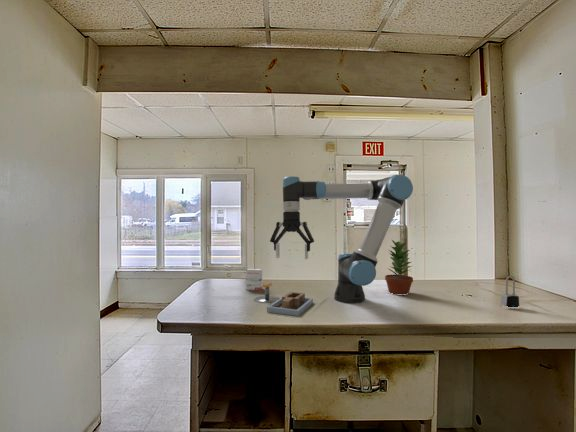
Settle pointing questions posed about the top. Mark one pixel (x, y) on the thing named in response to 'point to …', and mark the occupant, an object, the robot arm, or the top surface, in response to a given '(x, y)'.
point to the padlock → (510, 296)
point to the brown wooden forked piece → (293, 300)
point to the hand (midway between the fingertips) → (291, 258)
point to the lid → (266, 295)
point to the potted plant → (399, 271)
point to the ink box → (253, 279)
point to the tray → (275, 309)
